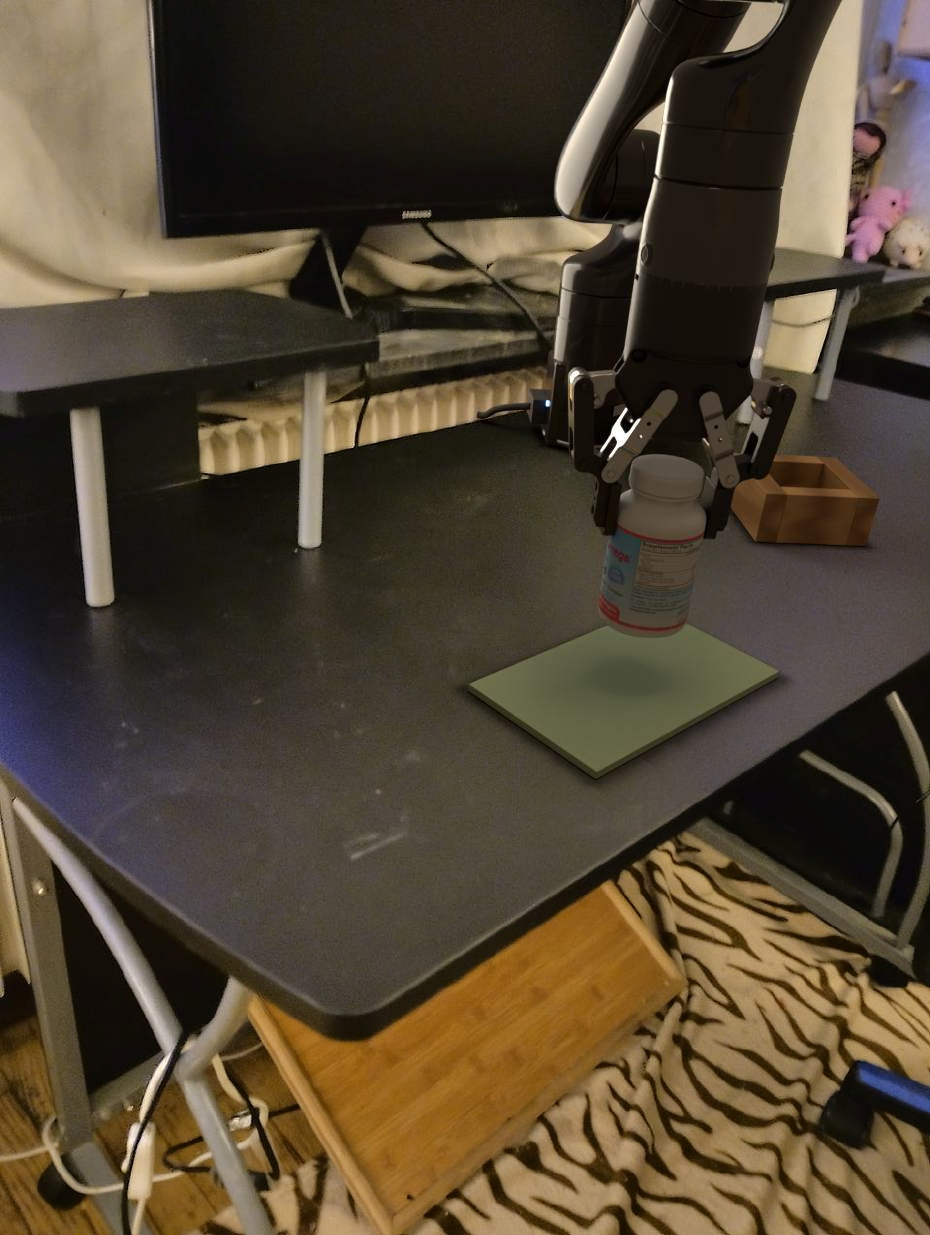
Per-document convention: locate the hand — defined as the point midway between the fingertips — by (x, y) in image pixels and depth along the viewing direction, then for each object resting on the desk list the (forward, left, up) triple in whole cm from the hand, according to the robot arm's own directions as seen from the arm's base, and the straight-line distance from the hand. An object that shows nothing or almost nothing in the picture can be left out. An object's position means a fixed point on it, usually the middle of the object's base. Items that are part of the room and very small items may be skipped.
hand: (655, 532), depth 65 cm
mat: (0, 0, -12) cm, 12 cm away
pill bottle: (0, 0, -7) cm, 7 cm away
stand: (+23, +31, -12) cm, 40 cm away
